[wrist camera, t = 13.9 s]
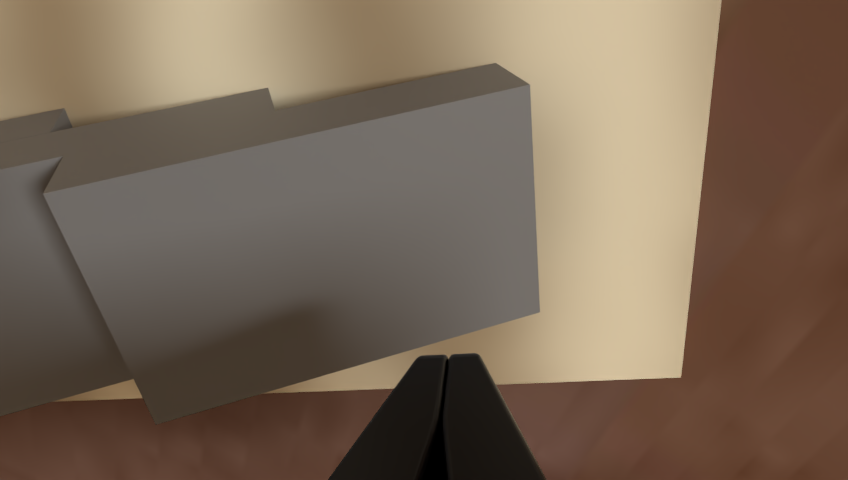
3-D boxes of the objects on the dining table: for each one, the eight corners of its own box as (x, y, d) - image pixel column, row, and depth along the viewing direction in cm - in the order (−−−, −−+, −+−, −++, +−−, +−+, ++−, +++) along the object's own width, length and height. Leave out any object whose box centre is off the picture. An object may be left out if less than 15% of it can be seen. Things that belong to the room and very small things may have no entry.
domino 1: (275, 111, 12) (-222, 217, 10) (329, 324, 14) (-62, 433, 13) (268, 88, 13) (-173, 178, 12) (318, 286, 16) (-36, 381, 14)
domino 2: (530, 84, 11) (42, 193, 10) (540, 312, 14) (155, 424, 12) (496, 63, 12) (62, 155, 11) (510, 274, 15) (161, 371, 14)
